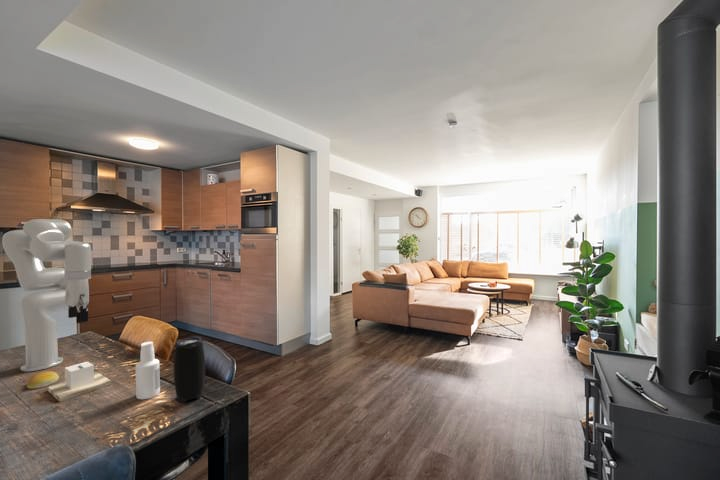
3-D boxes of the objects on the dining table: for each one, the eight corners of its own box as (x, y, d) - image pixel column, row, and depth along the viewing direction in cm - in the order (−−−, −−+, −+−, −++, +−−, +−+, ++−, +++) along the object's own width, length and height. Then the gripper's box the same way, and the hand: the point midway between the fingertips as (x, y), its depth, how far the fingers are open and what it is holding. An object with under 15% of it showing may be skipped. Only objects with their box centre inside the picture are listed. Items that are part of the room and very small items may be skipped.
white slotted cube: (65, 384, 111) (64, 367, 111) (87, 377, 117) (87, 360, 117) (71, 389, 108) (70, 371, 108) (94, 382, 113) (93, 364, 113)
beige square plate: (47, 390, 110) (47, 374, 110) (97, 375, 122) (96, 360, 122) (59, 402, 103) (59, 384, 103) (111, 384, 114) (110, 368, 114)
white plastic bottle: (164, 391, 109) (163, 340, 109) (145, 401, 103) (144, 347, 102) (150, 388, 111) (149, 339, 111) (131, 398, 105) (130, 345, 104)
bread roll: (25, 392, 110) (25, 381, 110) (29, 383, 117) (29, 372, 117) (58, 384, 115) (57, 373, 115) (60, 376, 122) (59, 366, 122)
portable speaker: (168, 402, 102) (167, 343, 101) (191, 388, 111) (189, 334, 110) (189, 405, 100) (188, 345, 99) (211, 391, 109) (209, 336, 108)
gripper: (58, 273, 119) (58, 317, 120) (71, 279, 110) (72, 326, 110) (83, 271, 125) (83, 313, 126) (98, 276, 116) (98, 321, 117)
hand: (78, 319), depth 118 cm, fingers open, 9 cm apart
